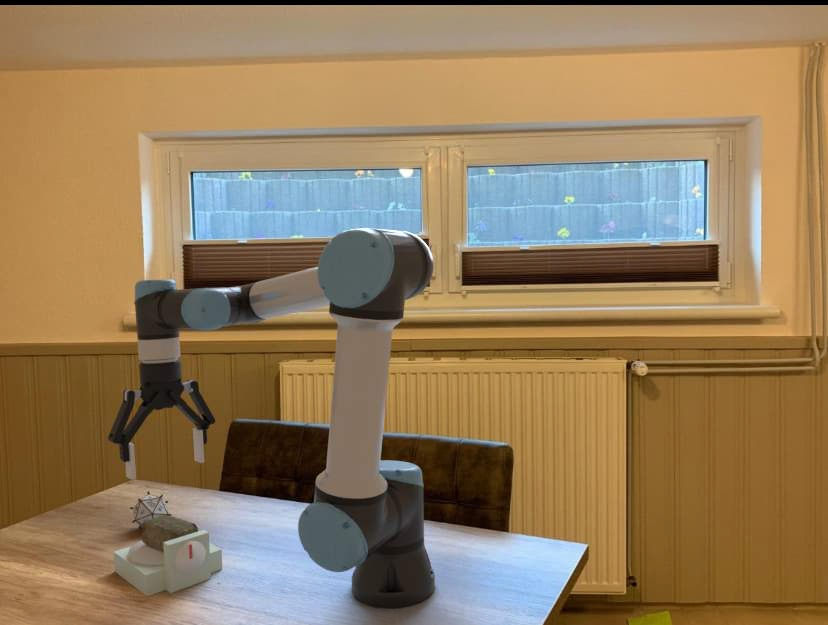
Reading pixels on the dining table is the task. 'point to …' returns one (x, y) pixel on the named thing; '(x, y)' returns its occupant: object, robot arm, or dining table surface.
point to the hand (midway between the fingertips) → (166, 469)
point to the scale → (169, 563)
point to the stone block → (165, 530)
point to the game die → (149, 508)
